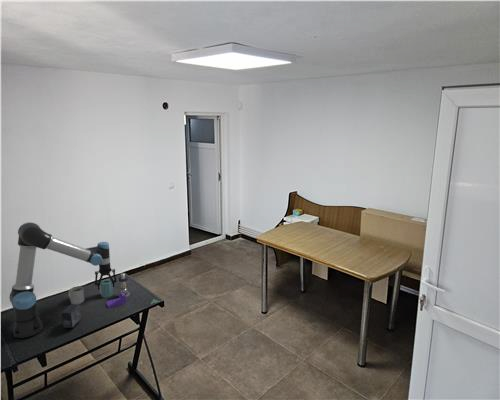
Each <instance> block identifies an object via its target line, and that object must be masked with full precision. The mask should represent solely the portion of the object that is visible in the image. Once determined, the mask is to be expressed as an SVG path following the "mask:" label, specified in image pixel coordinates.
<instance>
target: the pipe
mask: <svg viewBox="0 0 500 400" xmlns="http://www.w3.org/2000/svg"><path fill="white" fill-rule="evenodd" d="M125 276H126V273H125V272H121V273H120V277H121V279H125ZM126 282H127V281H125V282H120V284H121V288H120V290H119V291H120V293H122V292H124V294H125V296H126V295H127V294H128V293H127V292H128V287H127V286H126V285H127V284H126Z"/></svg>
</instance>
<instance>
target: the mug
mask: <svg viewBox="0 0 500 400" xmlns="http://www.w3.org/2000/svg"><path fill="white" fill-rule="evenodd" d="M84 288H85V287H84V286H82V285H81V286H80V285H77V286H72V287H71V288H69V290H68V292H67V296H68V298H69V300H70V305H71V304H76V305H80V304H82V303H84V301H85V300H86V299H85V290H84Z"/></svg>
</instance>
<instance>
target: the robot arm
mask: <svg viewBox="0 0 500 400" xmlns="http://www.w3.org/2000/svg"><path fill="white" fill-rule="evenodd" d="M17 235H18V237H17V239H18V240H17V245H18V246H19V247H20V248H19V253H18V254H19V255H18V263H17V270H16V277H15V284H13V285H12V286H11V291H10V293H9V301H10V303H11V306H12V308H13V314H14V319H15V321H14V322H15V323H14V326H13V331H12V332H13V336H14V338H16V339H17V338H19V339H24V338H29V337H32V336H35V335H37V334H38V333H40V332H41V331H43V330H42V329H43V328H44V327H43V325H44V324H43V322H42V320H41V318H40V317H39V312H38V304H37V296H36V294H35V293H34V290H35V285H34V284H33V283H32V282H33V277H34V268H35V260H36V254H37V253H36V252H37V249H42V250H47V249H48V250H50V251H53V252H56V253H59V254H62V255H65V256H68V257H71V258H73V259H77V260H80V261H84V262H86V263H89V264H91V265H93V266H98V271H96V270H95V271H94V275H95V276H94V277H95V278H94V279H95V280H94V285H95V286H97V290H99V295H101V284H100V282H101V281H103V280H102V279H103V277H105V276H107V277H109V278H108V279H109V280H111V283H112V293H113V292H114V288H115V283H117V282H118V281H117V275H116V268H111V256H110V255H111V254H110V244H109V242H108V241H100V242H98V243H97V245H96V246H93V247H87V248H84V247H81V246H79V245H75V244H73V243H70V242H67V241H65V240H61V239H59V238H56V237H53V235H52V234H50V233H48V232H46V231H45V230H43V229H42V228H41V227H40V225H39V224H37V223H34V222H31V221H29V222H28V221H27V222H25V223H23V224H21V225H20V226H19V228H18V229H17ZM111 272H112V275H111ZM99 274H100V277H99ZM112 276H113V277H112ZM98 277H99V279H98Z"/></svg>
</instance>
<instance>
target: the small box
mask: <svg viewBox="0 0 500 400" xmlns="http://www.w3.org/2000/svg"><path fill="white" fill-rule="evenodd" d="M61 320H62V328H63V329H65V328H66V329H73V328H74V327H75V326H76V325H77V324H79V322H80V321H81V320H82V316H81V306H80V304H71V303H70V305H68V306H67V307H66V308H65V309H64V310H63V311H62V312H61Z"/></svg>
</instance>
